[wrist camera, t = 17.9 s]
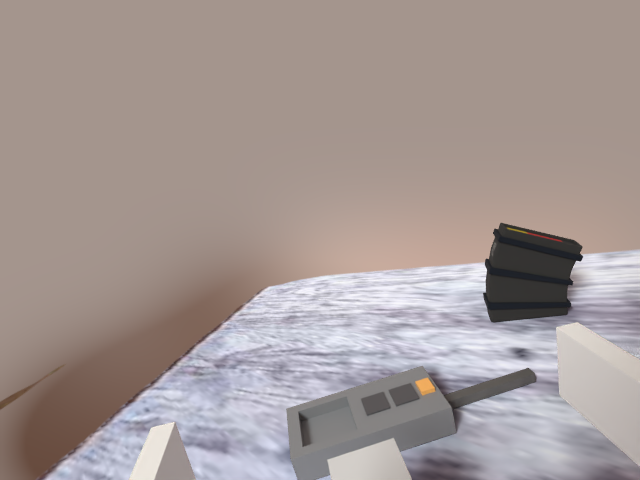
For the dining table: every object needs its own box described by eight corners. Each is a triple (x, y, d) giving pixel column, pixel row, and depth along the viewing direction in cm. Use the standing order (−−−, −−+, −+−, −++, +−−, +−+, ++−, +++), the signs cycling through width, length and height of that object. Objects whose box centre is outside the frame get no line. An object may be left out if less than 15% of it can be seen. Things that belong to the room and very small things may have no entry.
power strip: (512, 361, 51) (509, 335, 50) (556, 399, 44) (553, 370, 42) (293, 431, 49) (285, 405, 48) (299, 484, 42) (289, 455, 40)
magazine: (465, 305, 64) (497, 221, 59) (547, 328, 62) (588, 243, 57) (468, 317, 61) (502, 228, 55) (556, 341, 59) (600, 252, 53)
